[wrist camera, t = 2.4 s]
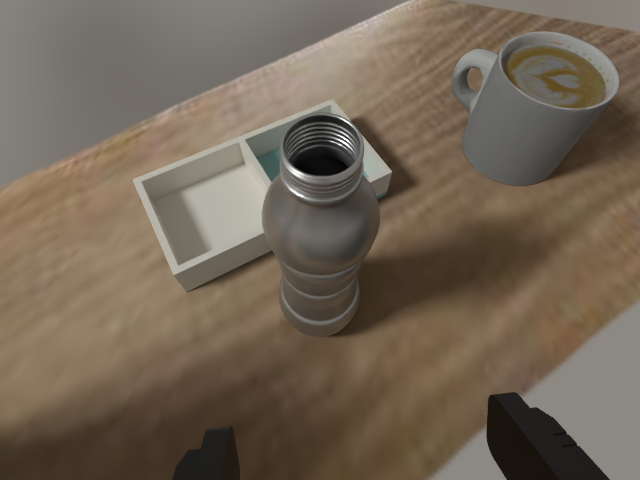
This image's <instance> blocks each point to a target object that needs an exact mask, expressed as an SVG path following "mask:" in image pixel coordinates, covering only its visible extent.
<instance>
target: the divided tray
mask: <svg viewBox="0 0 640 480" xmlns="http://www.w3.org/2000/svg"><path fill="white" fill-rule="evenodd" d="M317 112H326V113H333V114H337V115H340V116H342V117H344V118H346V119H348V120H349V118H348V117H347V116H346V115H345V114H344V112H343V111H342V110H341V109H340V107H339V106H338V105H337V104H336V103H335V101H334V100H333V99H332V100H329V101H327V102H324V103H322V104H319V105H317V106H314V107H312V108H309V109H307V110H304V111H302V112H299V113H297V114H294V115H292V116H289V117H287V118H284V119H282V120H279V121H277V122H274V123H272V124H269V125H267V126H264V127H262V128H259V129H257V130H254V131H252V132H249V133H247V134H244V135H242V136H240V137H237V138H235V139H232V140H230V141H227V142H225V143H222V144H220V145H217V146H215V147H212V148H210V149H207V150H205V151H202V152H200V153H197V154H195V155H192V156H190V157H187V158H185V159H182V160H180V161H177V162H175V163H172V164H170V165H167V166H165V167H162V168H160V169H157V170H155V171H152V172H150V173H147V174H145V175H142V176H140V177H138V178H135V179H133V182H134V184H135V187H136V189H137V191H138V194H139V196H140V198H141V200H142V203H143V205H144V207H145V210H146V212H147V214H148V217H149V219H150V221H151V224H152V226H153V228H154V231H155V233H156V235H157V238H158V240H159V242H160V245H161V247H162V249H163V252H164V254H165V256H166V259H167V261H168V263H169V265H170V268H171V270H172V272H173V275H174V276H175V278H176V279H177V280H178V281H179V283H180V284H181V285H182V287H183V288H184V289H185V291H186V292H188V291H190V290H192V289H194V288H196V287H198V286H200V285H202V284H204V283H206V282H208V281H210V280H212V279H214V278H216V277H218V276H221V275H223V274H225V273H227V272H229V271H231V270H233V269H235V268H237V267H239V266H241V265H243V264H245V263H247V262H249V261H251V260H253V259H255V258H258V257H260V256H262V255H264V254H266V253H268V252H270V251H272V249H271V247H270V246H269V244H268V242H267V239H266V236H265V234H264V230H263V226H262V215H261V213H262V207H263V203H264V199H265V196H266V193H267V191H268V188H269V186H270V184H271V183H272V182H273V180H274V179H275V177H276V176H277V175H278V174H280V159H281V158H280V141H281V137H282V134H283V132H284V130H285V129H286V128H287V126H288V125H289V124H290V123H292V122H293V121H294V120H296V119H297V118H299V117H301V116H304V115H306V114H310V113H317ZM349 121H350V120H349ZM361 135H362V134H361ZM362 137H363V136H362ZM363 142H364V156H363V164H364V170H363V175H364V176H365V177H366V178H367V179H368V181H369V182H370V184H371V185H372V187H373V189H374V192H375V194H376V197H377V199H379V198H381V197H383V196H385V195H386V194H387V190H388V186H389V183H390V179H391V175H392V171H391V170H390V169H389V167H388V166H387V165H386V164H385V162H384V161H383V160H382V159H381V158H380V156H379V155H378V154H377V153H376V151H375V150H374V149H373V148H372V147H371V145H370V144H369V143H368V142H367V140H366V139H365V138H364V137H363Z"/></svg>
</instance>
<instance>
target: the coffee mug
mask: <svg viewBox="0 0 640 480" xmlns="http://www.w3.org/2000/svg"><path fill="white" fill-rule="evenodd" d="M470 68H477V69H479V70H480V71H481V72H482V75H483V83H482V87H481V89H480V91H473V90H472V89H470V88H469V86H468V84H467V74H468V71H469V69H470ZM451 86H452V92H453V94H454V96H455V98H456V99H457V100H458V101H459V102H460V103H461V104H462V105H463V106H464V107H465V108H466V110H467V111H468V113H469V119H468V123H467V125H466V128H465V130H464V132H463V136H462V148H463V151H464V154H465V156H466V158H467V159H468V161H469V162H470V163H471V165H472V166H473V167H474V168H475V169H476V170H477V171H479V172H480V173H482V174H483V175H485V176H486V177H488V178H490V179H492V180H494V181H497V182H500V183H503V184H508V185H516V186H525V185H532V184H536V183H538V182H541V181H543V180H544V179H546V178H547V177H549V176H550V175H551V174H552V172H553V171H554V170H555V169H556V167H557V166H558V165H559V164H560V163H561V161H562V160H563V159H564V158H565V157H566V155H567V154H568V153H569V152H570V150H571V149H572V148H573V147H574V146H575V144H576V143H577V142H578V141H579V139H580V138H581V137H582V136H583V135H584V133H585V132H586V131H587V130H588V128H589V127H590V126H591V125H592V124H593V122H594V121H595V120H596V119H597V117H598V116H599V115H600V114H601V113H602V111H603V110H604V109H605V108H606V107H607V105H608V104H609V103H610V102H611V100H612V99H613V98H614V96H615V95H616V93H617V91H618V88H619V76H618V73H617V71H616V68H615V66H614V65H613V63H612V62H611V61H610V60H609V58H608V57H607V56H606V55H605V54H603V53H602V52H601V51H600V50H598V49H597V48H595V47H594V46H593V45H591V44H589V43H587V42H585V41H583V40H580V39H578V38H575V37H572V36H569V35H565V34H560V33H555V32H543V31H541V32H530V33H525V34H521V35H519V36H516V37H514V38H512V39H511V40H509V41H508V42H507V43H506V44H505V45H504V46H503V47H502V49H501V50H500V52H499V54H498V55H497V54H495V53H493V52H490V51H487V50H484V49H475V50H472V51H470V52H468V53H466V54H465V55H464V56H463V57H462V58H461V59H460V60H459V62H458V63H457V65H456V67H455V69H454V72H453V76H452V83H451Z"/></svg>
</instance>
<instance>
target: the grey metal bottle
mask: <svg viewBox="0 0 640 480" xmlns="http://www.w3.org/2000/svg"><path fill="white" fill-rule="evenodd" d="M363 156H364V142H363V137H362V135H361V133H360V131H359V130H358V128H357V127H356V126H355V125H354V124H353V123H352V122H351V121H349V120H348V119H346V118H344V117H342V116H340V115H337V114H333V113H326V112H317V113H310V114H306V115H304V116H301V117H299V118H297V119H296V120H294V121H293V122H292V123H290V124H289V125H288V126H287V128H286V129H285V130H284V132H283V134H282V137H281V141H280V158H281V159H280V174H278V175H277V176H276V177H275V179H274V180H273V182H272V183H271V184H270V186H269V188H268V191H267V193H266V196H265V199H264V203H263V207H262V213H261V215H262V226H263V230H264V234H265V236H266V239H267V242H268V244H269V246H270V247H271V249H272V251H273V253H274V255H275V256H276V258H277V260H278V262H279V264H280V267H281V271H282V278H281V281H280V288H279V302H280V306H281V310H282V312H283V314H284V316H285V317H286V318H287V320H288V321H289V322H290V323H291V324H292V325H293V326H294V327H295V328H296V329H297V330H298V331H300V332H302V333H304V334H306V335H309V336H314V337H325V336H329V335H332V334H335V333H337V332H338V331H340V330H342V329H343V328H344V327H345V326H346V325H347V324H348V323H349V322H350V321H351V320H352V318H353V317H354V315H355V313H356V311H357V309H358V305H359V301H360V289H359V282H358V271H359V268H360V266H361V263H362V262H363V260H364V258H365V257H366V255H367V254H368V252H369V251H370V249H371V247H372V245H373V243H374V240H375V238H376V236H377V233H378V229H379V225H380V210H379V205H378V201H377V197H376V194H375V192H374V189H373V187H372V185H371V184H370V182H369V181H368V179H367V178H366V177H365V176H364V175H363V170H364V164H363Z"/></svg>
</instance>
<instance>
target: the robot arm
mask: <svg viewBox="0 0 640 480" xmlns="http://www.w3.org/2000/svg"><path fill="white" fill-rule="evenodd" d="M487 442H488V446H489V449H490V452H491V454H492V456H493V458H494V460H495V461H496V463H497V465H498V466H499V468H500V469H501V471H502V473H503V474H504V476H505V477H506V479H507V480H610V479H609V478H608V477H607V476H606V475H605V474H604V473H603V472H602V471H601V469H600V468H598V466H597V465H596V464H595V463H594V462H593V461H592V460H591V458H590V457H589V456H588V455H587V454H586V453H585V452H584V451H583V450H582V449H581V448H580V446H577V443H576V442H575V441H574V440H573V439H572V438H571V437H570V436H569V435H567V433H566V431H565V430H564V429H563V428H562V427H561V426H560V424H559V423H558V422H557V421H556V420H555V419H554V418H553V417H551V416H549V415H548V414H546V413H545V412H543V411H541V410H540V409H538V408H536V407H535V408H529V406H528V405H527V404H526V403H525V402H524V401H523V399H522V398H521V397H520V396H519V395H518V394H517V393H515V392H511V393H503V394H495V395H490V396H489V399H488V416H487ZM173 480H240V469H239V462H238V456H237V450H236V444H235V438H234V432H233V428H232V426H229V427H221V428H213V429H207V430H206V432H205V435H204V439H203V443H202V447H201V449H196V450H188V452H187V453H186V454H185V456H184V457H183V458H182V460H181V461H180V462H179V464H178V465H177V467H176V470H175V473H174V476H173Z"/></svg>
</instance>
